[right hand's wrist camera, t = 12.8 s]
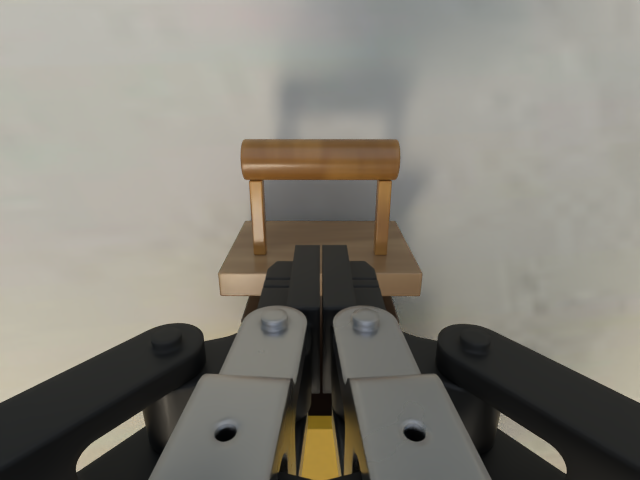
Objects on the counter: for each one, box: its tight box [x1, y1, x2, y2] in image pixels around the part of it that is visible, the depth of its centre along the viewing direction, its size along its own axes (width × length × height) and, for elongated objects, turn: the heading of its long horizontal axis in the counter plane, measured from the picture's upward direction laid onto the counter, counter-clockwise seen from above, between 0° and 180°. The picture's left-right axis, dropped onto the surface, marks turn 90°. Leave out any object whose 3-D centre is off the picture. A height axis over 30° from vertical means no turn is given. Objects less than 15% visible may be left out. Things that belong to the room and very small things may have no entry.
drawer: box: [218, 139, 422, 416], centre depth 23 cm, size 21×9×7 cm, turn 0°
